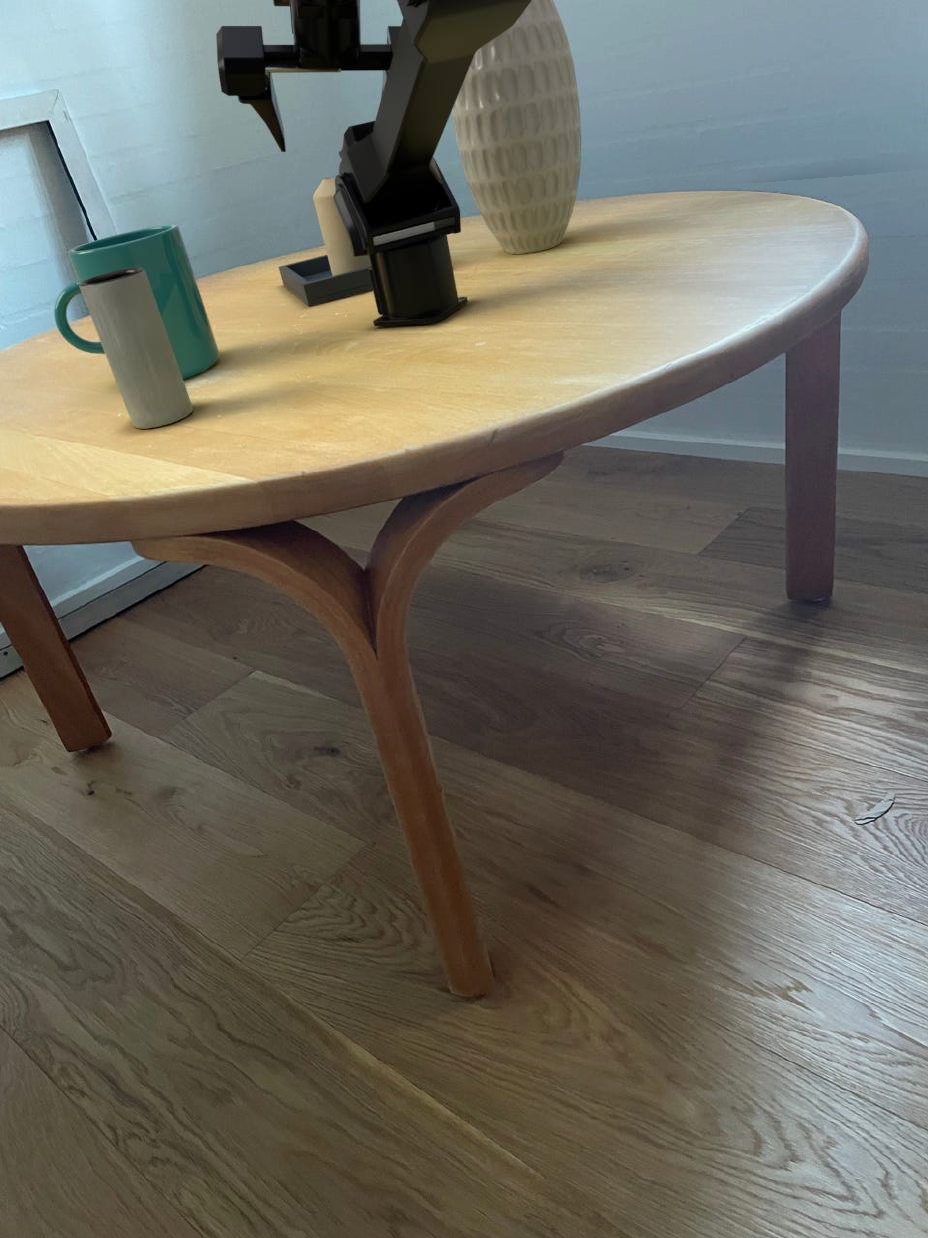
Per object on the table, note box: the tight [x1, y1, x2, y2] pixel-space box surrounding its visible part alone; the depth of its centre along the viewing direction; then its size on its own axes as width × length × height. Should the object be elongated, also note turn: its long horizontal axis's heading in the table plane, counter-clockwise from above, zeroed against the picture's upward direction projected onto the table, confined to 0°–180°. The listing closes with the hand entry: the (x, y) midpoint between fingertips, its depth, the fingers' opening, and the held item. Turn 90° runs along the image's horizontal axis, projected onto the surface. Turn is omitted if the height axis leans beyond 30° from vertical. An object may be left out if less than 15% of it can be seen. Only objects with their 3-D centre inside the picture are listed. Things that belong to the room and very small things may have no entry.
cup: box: [53, 224, 220, 380], centre depth 77 cm, size 9×12×11 cm
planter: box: [79, 267, 194, 430], centre depth 66 cm, size 4×4×10 cm
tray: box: [278, 254, 373, 308], centre depth 101 cm, size 16×15×2 cm
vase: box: [451, 0, 582, 255], centre depth 92 cm, size 13×13×28 cm
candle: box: [312, 177, 371, 276], centre depth 99 cm, size 6×6×10 cm
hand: (332, 147), depth 87 cm, fingers open, 9 cm apart
